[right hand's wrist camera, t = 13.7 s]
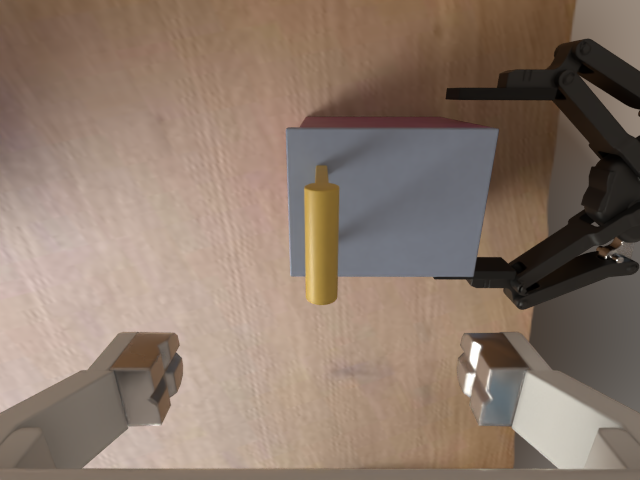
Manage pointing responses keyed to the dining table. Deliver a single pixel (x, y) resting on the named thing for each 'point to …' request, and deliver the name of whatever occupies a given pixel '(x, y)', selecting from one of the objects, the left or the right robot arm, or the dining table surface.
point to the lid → (385, 202)
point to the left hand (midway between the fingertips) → (439, 188)
